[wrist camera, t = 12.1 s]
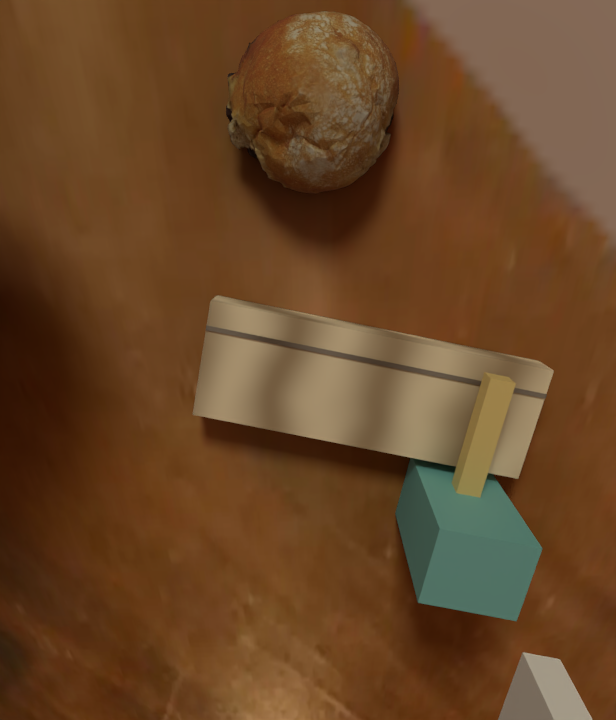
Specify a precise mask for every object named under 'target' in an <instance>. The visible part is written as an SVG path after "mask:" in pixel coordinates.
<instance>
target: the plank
mask: <svg viewBox="0 0 616 720" xmlns="http://www.w3.org/2000/svg"><path fill="white" fill-rule="evenodd" d="M484 372H486V373H491V374H496V375H501V376H506V377H509V378H510V379H511V380H512V381H514V382H515V383H516V385H515V388H514V391H513V394H512V398H511V401H510V404H509V407H508V410H507V414H506V417H505V420H504V423H503V426H502V429H501V433H500V436H499V439H498V442H497V445H496V449H495V452H494V455H493V458H492V461H491V465H490V468H489V471H488V473H491V474H496V475H501V476H506V477H511V478H516V479H518V478H519V475H520V472H521V469H522V466H523V463H524V460H525V457H526V454H527V450H528V447H529V444H530V441H531V438H532V435H533V432H534V429H535V426H536V423H537V420H538V417H539V414H540V411H541V408H542V405H543V402H544V399H545V398H546V395H547V394H546V393H547V390H548V387H549V384H550V381H551V378H552V375H553V372H554V371H553V370H552V369H550V368H549V367H547V366H546V365H544V364H543V363H541V362H540V361H537V360H532V359H527V358H522V357H517V356H512V355H507V354H502V353H497V352H492V351H488V350H483V349H478V348H473V347H468V346H463V345H458V344H453V343H448V342H444V341H439V340H434V339H429V338H424V337H419V336H414V335H409V334H404V333H399V332H395V331H390V330H385V329H380V328H375V327H370V326H365V325H360V324H355V323H351V322H346V321H341V320H336V319H331V318H326V317H321V316H316V315H311V314H307V313H302V312H297V311H292V310H287V309H282V308H277V307H272V306H267V305H262V304H258V303H253V302H248V301H243V300H238V299H233V298H228V297H223V296H218V295H217V296H216V297H215V298H214V299H212V300H211V302H210V308H209V314H208V321H207V326H206V333H205V340H204V346H203V352H202V358H201V365H200V371H199V377H198V384H197V390H196V396H195V403H194V409H193V415H197V416H202V417H207V418H212V419H217V420H222V421H227V422H232V423H238V424H243V425H248V426H253V427H258V428H263V429H268V430H273V431H278V432H283V433H288V434H293V435H298V436H303V437H308V438H314V439H319V440H324V441H329V442H334V443H339V444H344V445H349V446H354V447H359V448H364V449H369V450H374V451H379V452H384V453H389V454H395V455H400V456H405V457H410V458H415V459H420V460H425V461H430V462H435V463H440V464H445V465H450V466H455V467H456V466H457V463H458V459H459V456H460V453H461V449H462V446H463V442H464V439H465V436H466V432H467V429H468V426H469V422H470V419H471V415H472V412H473V409H474V405H475V402H476V399H477V395H478V392H479V388H480V385H481V382H482V378H483V375H484Z"/></svg>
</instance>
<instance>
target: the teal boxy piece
mask: <svg viewBox="0 0 616 720" xmlns="http://www.w3.org/2000/svg"><path fill="white" fill-rule="evenodd" d="M515 385H516V383H515V382H514V381H512V380H511V379H510V378H509V377H506V376H501V375H496V374H491V373H486V372H484V375H483V378H482V382H481V385H480V388H479V392H478V395H477V399H476V402H475V405H474V409H473V412H472V415H471V419H470V422H469V426H468V429H467V432H466V436H465V439H464V442H463V446H462V449H461V453H460V456H459V459H458V463H457V466H456V467H455V466H450V465H445V464H440V463H435V462H430V461H425V460H420V459H415V458H410V462H409V465H408V469H407V473H406V476H405V480H404V484H403V487H402V491H401V495H400V498H399V502H398V506H397V509H396V513H395V514H396V518H397V522H398V526H399V530H400V534H401V538H402V542H403V546H404V550H405V554H406V558H407V561H408V565H409V569H410V573H411V577H412V581H413V585H414V589H415V593H416V597H417V601H418V603H422V604H428V605H433V606H438V607H444V608H449V609H454V610H460V611H465V612H470V613H476V614H481V615H486V616H492V617H497V618H502V619H508V620H513V621H517V619H518V616H519V613H520V610H521V607H522V605H523V602H524V599H525V596H526V593H527V591H528V588H529V585H530V582H531V579H532V576H533V574H534V571H535V568H536V565H537V562H538V560H539V557H540V554H541V551H542V547H541V546H540V544H539V543H538V541H537V540H536V538H535V537H534V535H533V534H532V532H531V531H530V529H529V528H528V526H527V525H526V523H525V522H524V520H523V519H522V517H521V516H520V514H519V513H518V511H517V510H516V508H515V507H514V505H513V504H512V502H511V501H510V499H509V498H508V496H507V495H506V493H505V492H504V490H503V489H502V487H501V486H500V484H499V483H498V481H497V480H496V478H495V477H494V475H493V474H491V473H488V471H489V468H490V465H491V461H492V458H493V455H494V452H495V449H496V445H497V442H498V439H499V436H500V433H501V429H502V426H503V423H504V420H505V417H506V414H507V410H508V407H509V404H510V401H511V398H512V394H513V391H514V388H515Z"/></svg>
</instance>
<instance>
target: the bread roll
mask: <svg viewBox="0 0 616 720" xmlns="http://www.w3.org/2000/svg"><path fill="white" fill-rule="evenodd" d="M227 79H228V85H229V100H228V105H227V106H226V116H227V117H228V119H229V120H230V123H229V124H228V131H229V134H230V137H231V142H232V143H233V144H234V145H235V146H236V148H238V149H239V150H240V148H244V146H245V147H247V148H248V152H249V154H250V155H251V156H253V157H255V158H257V159H258V160H259V162H260V164H261V166H262V169H263V171H265V172H266V173H267V175H268V178H270V179H272V180H274V181H278V182H280V183H281V184H282V185H283V186H284V187H286V188H289V189H292V190H296V191H298V192H302V193H320V192H322V191H332V190H336V189H340V188H343V187H346V186H349V185H350V184H352V183H353V182H354V181H356V180H357V179H358V178H359V177H361V176H362V175H363V174H365V173H366V172H367V171H368V169H369V167H371V166H372V165H373V164H375V162H376V158H378V157H379V156H380V155H381V154H382V152H383V151H384V150H385V149H386V148H387V146H388V144H389V140H390V135H391V134H390V133H387V132H386V131H387V129H388V127H389V126H390V125H391V122H392V119H393V109H394V107H395V105H396V104H397V99H398V94H399V77H398V72H397V67H396V63H395V61H394V59H393V57H392V55H391V53H390V51H389V49H388V47H387V46H386V44H385V43H384V42H383V41H382V40H381V39H380V38H379V36H378V35H377V34H376V33H375V32H374V31H372V30H371V29H370V28H369V27H368V26H366V25H365V24H363V23H362V22H361V21H359V20H357V19H356V18H354V17H352V16H349V15H346V14H343V13H338V12H327V11H322V12H312V13H305V14H295V15H291V16H288V17H287V18H285V19H283V20H280V21H277V22H276V23H275V24H274V25H272V26H271V27H269V28H268V29H266V30H265V31H263V32H262V33H261V34H260V35H259V36H258V37H257V38H256V39H255V40H254V41H253V42H252V43H249V46H248V48H247V50H246V52H245V54H244V55H243V56H242V58H241V61H240V64H239V70H238V72H236V73H230V74H228V78H227ZM254 135H255V136H254Z"/></svg>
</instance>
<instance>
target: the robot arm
mask: <svg viewBox="0 0 616 720" xmlns="http://www.w3.org/2000/svg"><path fill="white" fill-rule="evenodd" d="M498 720H592V718H591V716H590V714H589V712H588V711H587V709H586V707H585V705H584V703H583V701H582V699H581V698H580V696H579V694H578V692H577V690H576V688H575V686H574V685H573V683H572V681H571V679H570V677H569V675H568V674H567V672H566V670H565V668H564V666H563V664H562V662H561V661H560V659H555V658H550V657H545V656H539V655H534V654H529V653H522V656H521V659H520V661H519V664H518V667H517V670H516V672H515V675H514V678H513V680H512V683H511V686H510V689H509V691H508V694H507V697H506V700H505V702H504V705H503V708H502V710H501V713H500V716H499V719H498Z"/></svg>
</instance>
